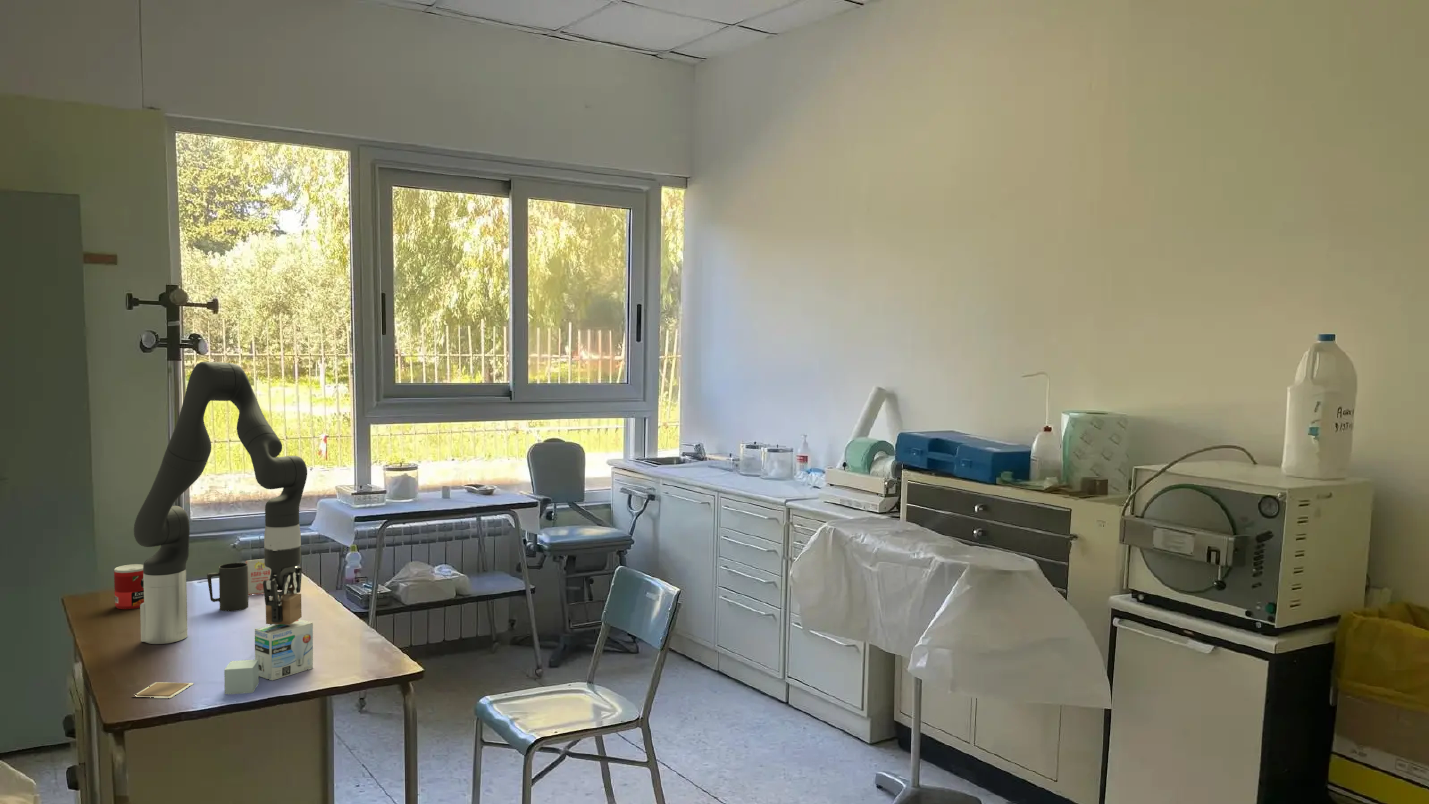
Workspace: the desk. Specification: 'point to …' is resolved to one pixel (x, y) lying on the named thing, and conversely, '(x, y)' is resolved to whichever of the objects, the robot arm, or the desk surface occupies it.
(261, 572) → the beige rectangular box
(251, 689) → the pale green cube
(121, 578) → the canned food
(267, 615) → the walnut block
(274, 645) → the light bulb box
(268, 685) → the desk surface
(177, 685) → the swatch
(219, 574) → the mug
